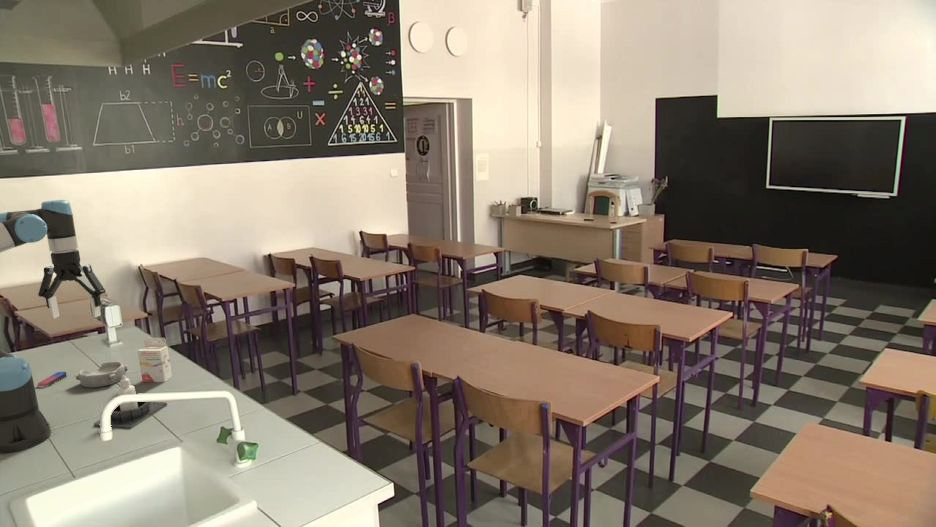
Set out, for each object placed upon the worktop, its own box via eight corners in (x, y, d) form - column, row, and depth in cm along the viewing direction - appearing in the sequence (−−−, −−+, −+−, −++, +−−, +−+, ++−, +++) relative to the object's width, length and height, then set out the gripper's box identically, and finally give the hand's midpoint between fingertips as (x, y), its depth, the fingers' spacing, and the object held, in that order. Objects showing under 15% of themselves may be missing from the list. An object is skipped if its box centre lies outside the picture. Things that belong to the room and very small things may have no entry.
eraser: (46, 389, 227) (45, 384, 227) (35, 389, 227) (34, 384, 227) (69, 375, 238) (68, 371, 237) (58, 375, 238) (57, 371, 238)
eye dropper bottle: (117, 414, 200) (110, 377, 198) (135, 407, 205) (129, 371, 202) (124, 417, 198) (118, 380, 195) (142, 410, 202) (136, 374, 200)
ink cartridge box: (141, 382, 228) (135, 342, 224) (149, 377, 232) (143, 337, 229) (165, 382, 227) (158, 341, 224) (172, 376, 232) (166, 337, 228)
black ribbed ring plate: (131, 428, 192) (130, 417, 192) (94, 425, 195) (92, 415, 194) (167, 404, 208) (165, 395, 207) (131, 403, 210) (130, 393, 210)
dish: (71, 388, 226) (69, 374, 225) (102, 373, 239) (100, 360, 238) (107, 390, 223) (104, 376, 222) (136, 374, 236) (134, 361, 235)
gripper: (110, 247, 204) (121, 312, 209) (34, 249, 206) (46, 314, 210) (95, 251, 197) (107, 319, 201) (16, 254, 199) (30, 321, 203)
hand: (76, 317), depth 206 cm, fingers open, 13 cm apart
